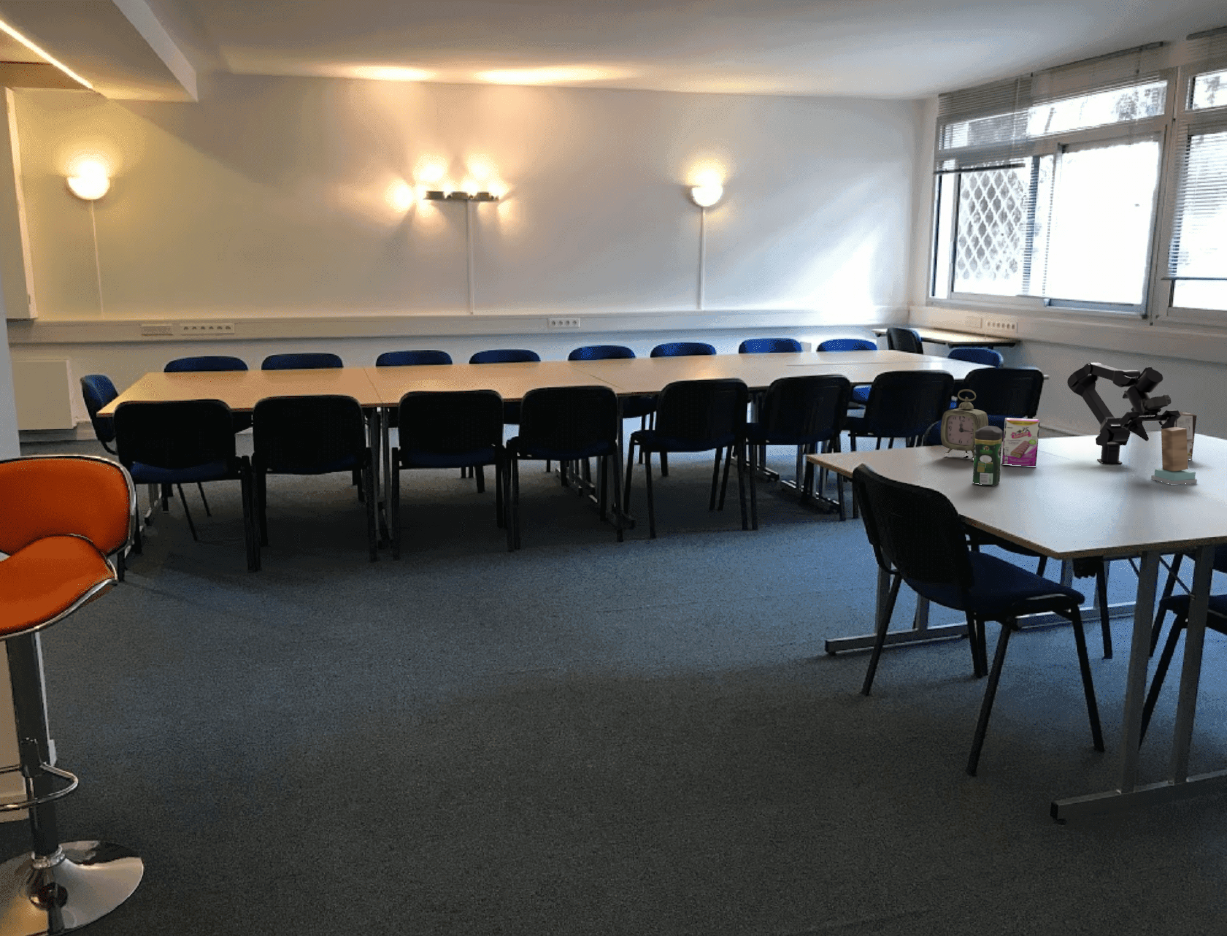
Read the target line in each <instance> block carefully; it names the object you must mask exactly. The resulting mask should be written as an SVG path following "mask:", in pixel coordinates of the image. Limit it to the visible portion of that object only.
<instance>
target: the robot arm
mask: <svg viewBox="0 0 1227 936" xmlns="http://www.w3.org/2000/svg"><path fill="white" fill-rule="evenodd" d="M1099 378H1102V379H1106V380H1110V381H1111V382H1112V384H1113V385H1115V386H1117V387H1118V388H1127V390H1124V393H1123V394H1122V399H1123V400H1125V399H1128V400H1129V403H1130V404H1131V406H1132V407H1131V408H1130V411H1126V412H1125V413H1124V415H1122V417H1115V416H1114V415H1113V414H1112V412H1111V411H1110V409H1109V407H1108V406H1107V405H1106V403H1105V402H1104V400H1103V399H1102V398H1101V396H1100V395H1099V393H1098V391H1097V390H1096V385H1097V381H1098V380H1099ZM1163 380H1164V376H1163V374H1162V373H1160V372H1159V371H1158V370H1156V369H1153V367H1152V366H1146V367H1145V368H1144V369H1143V371H1142V372H1141V371H1140V370H1138V369H1120V368H1116V367H1113V366H1109V365H1106V364H1104V363H1100V362H1088V363H1086V364H1084V366H1083V367H1081V368H1079V369H1077V370H1075V371H1074V372H1073V373H1071V374H1070V376H1069V377H1068V378H1067V386H1068V388H1069V389H1070V390H1071V391H1072V392H1073V393H1074V394H1075V395H1078V396H1080V397H1081V398H1082V399H1083V401H1084V403H1086V405H1087V407H1088V408H1089V410H1090V411H1091V412H1092V414H1093V416H1094V417H1095V418H1096V420H1097V421H1098V423H1099V425H1100V426H1099V434H1098V435H1097V437H1095V445H1098V446H1101V451H1100V458H1097V460H1096V461H1097V462H1098V463H1101V464H1104V465H1106V464H1107V465H1108V464H1109V465H1110V464H1111V465H1123V462H1122V461H1121V460H1120V451H1121V446H1127V443H1128V441H1129V439H1130V435H1131V433H1133V434H1135V435H1137V437H1140V438H1141V439H1143V441H1146V442H1148V441H1149V436H1148V434H1147V431H1146V429H1145V427H1144V424H1143V422H1144V423H1147V422H1151V423H1152V422H1153V423H1154V422H1158V423H1159V425H1160V428H1161V429H1166V428H1173V427H1174V422H1175V421H1176V420H1177V419H1178V418H1179V417H1180V416H1181V415H1180V413H1179V412H1180V411H1179V410H1178V409H1167V410H1165V411H1163V413H1162V414H1159V413H1161V411H1162V408H1164V407H1168V406H1169V405H1171V403H1172V398H1171V397H1170V396H1169V394H1163V395H1160V396H1159V395H1158V396H1152V397H1150V395H1149V393H1152V392H1153V391H1154V390H1155V389H1156V388H1157V387H1158V386H1159V385H1160V384H1161V383H1162V382H1163Z"/></svg>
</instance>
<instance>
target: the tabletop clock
mask: <svg viewBox="0 0 1227 936" xmlns="http://www.w3.org/2000/svg"><path fill="white" fill-rule="evenodd" d="M963 392H970V393H972V394H973V395H974V398H971V399H969V397H967V396H965V398H962V397H961V396H960V393H963ZM957 398H958V399H959V400H960V401H962V402H961V403H959V405H958V408H954V409H948V410H946V411H944V412H943V414H942V416H941V423H940V440H941V445H942V446H943V447H945V448H947V449H948V451H947V452H945V453H950V452H951V451H953V450H955V451H963V452H965V453H968V452H971V454H972V457H971V459H972V458H974V450H975V432H976V430H978V429H980V428H982V427H984V426H989V419H988V418H989V417H988V414H987V412H985V411H984V410H980V409H974V408H975V407H974V405H973V404H972V402H973V401H975V400H976V398H977V395H976V392H975V391H973V390H972V389H966V388H965V389H961V390H959V391H958V393H957Z"/></svg>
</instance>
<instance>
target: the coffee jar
mask: <svg viewBox="0 0 1227 936" xmlns="http://www.w3.org/2000/svg"><path fill="white" fill-rule="evenodd" d="M1003 434H1004V431H1003V430H1002V429H1001V428H1000V427H999V426H996V425H995V426H994V425H988V426H984V427H982V428H980V429H978V430H976V432H975V450H974V461H973V468H972V469H973V471H972V472H973V473H972V483H973V482H974V483H979V484H982V485H995V486H997V485H998V484H1000V481H1001V465H1002V448H1003ZM974 483H973V484H974Z"/></svg>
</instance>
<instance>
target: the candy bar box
mask: <svg viewBox="0 0 1227 936" xmlns="http://www.w3.org/2000/svg"><path fill="white" fill-rule="evenodd" d="M1040 423H1041V421H1040V419H1039V418H1038V419H1037V418H1017V417H1016V418H1015V417H1005V418H1004V426H1003V427H1004V428H1003V438H1002V450H1001V465H1002V464H1012V465H1021V466H1036V467H1037V459H1038V450H1039V449H1038V446H1039V434H1040Z"/></svg>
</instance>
